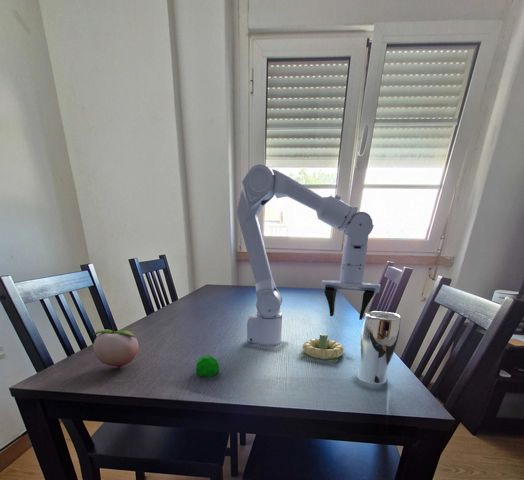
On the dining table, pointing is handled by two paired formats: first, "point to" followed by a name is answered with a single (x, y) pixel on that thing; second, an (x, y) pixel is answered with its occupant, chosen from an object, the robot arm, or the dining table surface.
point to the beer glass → (378, 345)
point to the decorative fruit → (115, 347)
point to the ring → (332, 352)
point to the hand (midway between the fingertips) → (346, 317)
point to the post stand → (321, 346)
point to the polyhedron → (207, 366)
